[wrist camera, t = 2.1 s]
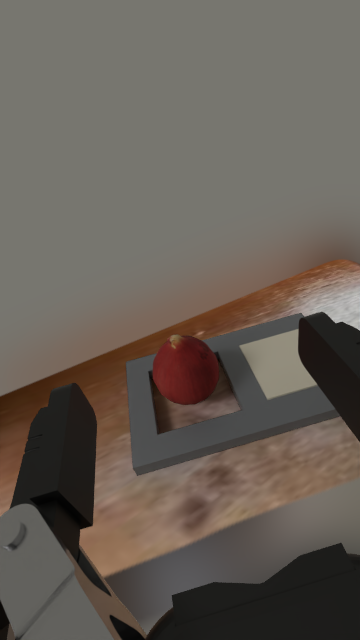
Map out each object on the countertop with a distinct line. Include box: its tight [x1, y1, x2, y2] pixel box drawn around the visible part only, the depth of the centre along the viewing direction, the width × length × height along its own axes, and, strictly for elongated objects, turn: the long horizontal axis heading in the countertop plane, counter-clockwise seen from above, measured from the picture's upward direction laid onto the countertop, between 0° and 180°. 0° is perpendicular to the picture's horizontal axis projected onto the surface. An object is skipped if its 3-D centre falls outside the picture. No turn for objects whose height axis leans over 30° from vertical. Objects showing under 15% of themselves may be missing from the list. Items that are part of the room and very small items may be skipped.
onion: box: [153, 335, 219, 405], centre depth 27 cm, size 6×6×8 cm
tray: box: [126, 313, 340, 476], centre depth 29 cm, size 20×12×1 cm, turn 101°
